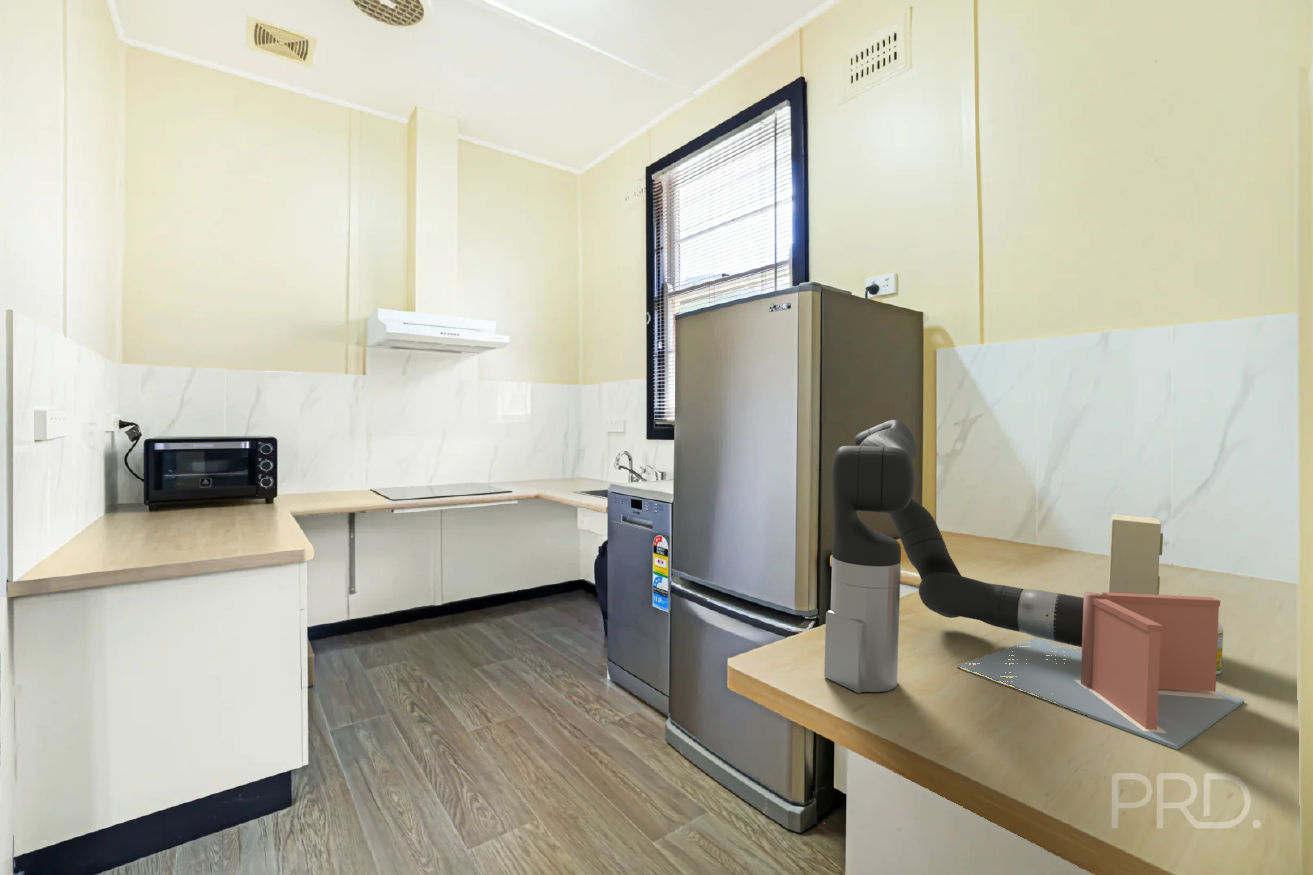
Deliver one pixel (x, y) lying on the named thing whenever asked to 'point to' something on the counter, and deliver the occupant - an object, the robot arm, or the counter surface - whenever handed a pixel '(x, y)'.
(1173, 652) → the panel
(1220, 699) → the card
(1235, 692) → the counter surface
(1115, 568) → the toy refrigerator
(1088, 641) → the bar
